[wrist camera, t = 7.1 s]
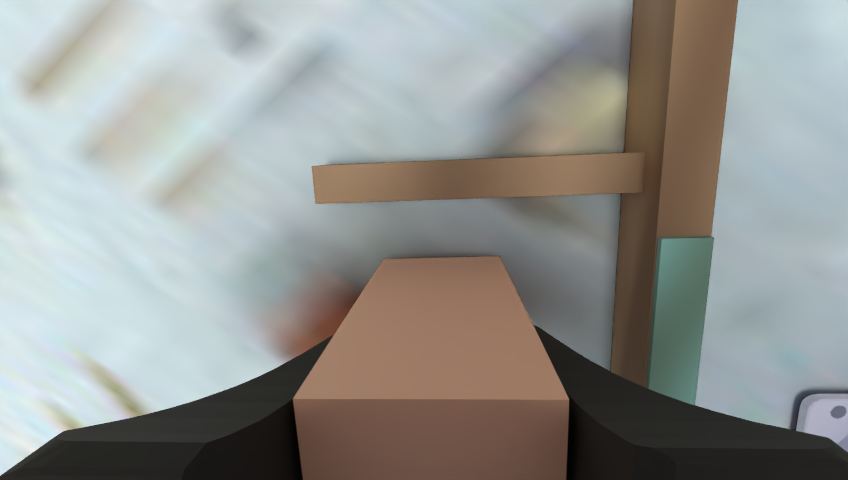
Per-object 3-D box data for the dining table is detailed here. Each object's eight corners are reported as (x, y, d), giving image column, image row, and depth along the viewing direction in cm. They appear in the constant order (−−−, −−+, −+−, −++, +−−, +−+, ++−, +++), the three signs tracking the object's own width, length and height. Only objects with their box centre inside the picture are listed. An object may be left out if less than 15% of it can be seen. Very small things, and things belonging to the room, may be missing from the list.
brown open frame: (701, -198, 11) (779, -308, 8) (629, 622, 17) (661, 705, 15) (296, -156, 12) (253, -244, 9) (367, 611, 18) (353, 688, 16)
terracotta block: (499, 256, 13) (569, 399, 6) (499, 363, 14) (560, 619, 6) (383, 259, 14) (292, 398, 6) (390, 363, 14) (319, 608, 7)
